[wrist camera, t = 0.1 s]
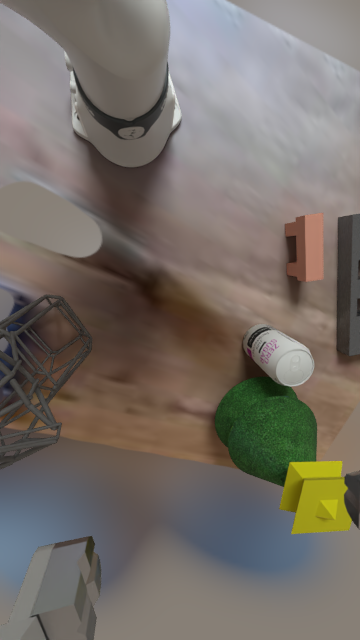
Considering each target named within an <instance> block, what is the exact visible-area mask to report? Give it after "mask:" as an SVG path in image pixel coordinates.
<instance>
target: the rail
mask: <svg viewBox="0 0 360 640" xmlns="http://www.w3.org/2000/svg"><path fill="white" fill-rule="evenodd" d="M358 260H360V214H355V215H349V216H343V217H338V290H337V350H338V351H340V352H342V353H344V354H346V355H348V356H353V355H358V354H360V310H357V299H358V298H360V275H359V276H358Z"/></svg>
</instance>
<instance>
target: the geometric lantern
mask: <svg viewBox="0 0 360 640" xmlns="http://www.w3.org/2000/svg"><path fill="white" fill-rule="evenodd" d="M49 298H55V299H58V300H57V301H56V302H54V303H53V304H52V303H51V302H50V300H49ZM44 299H47V301H48V302H49V304H50V306H49V307H47V308H46V309H45V310H43V311H42V312H40V313H39V314H38V315H36V316H35V317H34V318H32V319H31V320H29V321H28V323H26V324H25V325H24V324H21V323H17V322H14V321H16V320H17V319H18V318H20V317H21V316H22V315H24V314H25V313H27V312H28V311H29V310H31V309H32V308H33V307H35V306H36V305H38V304H39V303H40V302H42V301H43V300H44ZM61 301H62V302H63V303H64V305H65V306H66V307H67V308H66V307H65V306H64V305H63V304H62V303H61ZM60 305H61V306H62V307H63V308H64V309H65V310H66V311H67V312H68V314H69V315H70V316H71V317H72V318H73V319H74V321H75V322H76V323H77V324H78V325H79V326H80V327H81V330H80V331H79V329H78V328H77V327H76V326H75V325H74V324H73V323H72V322H71V320H70V319H69V318H68V317H67V316H66V315H65V314H64V313H63V311H62V310H61V309H60V308H59V306H60ZM53 307H56V308H57V309H58V310H59V311H60V312H61V313H62V314H63V316H64V317H65V318H66V319H67V320H68V321H69V322H70V323H71V325H72V326H73V327H74V328H75V329H76V330H77V331H78V332H79V336H78V337H77V338H75V339H74V340H72V341H71V342H70V343H68V344H67V345H65V346H64V347H63V348H61V349H60V350H58V351H52V350H51V349H50V348H49V347H48V346H47V345H46V344H45V343H44V342H43V341H42V340H41V338H40V337H39V336H38V335H37V334H36V333H35V332H34V331H33V330H32V329H31V327H30V326H31V325H32V324H33V323H34V322H36V321H37V320H38V319H39V318H41V317H42V316H43V315H44V314H46V313H47V312H48V311H50V310H51V309H52V308H53ZM67 309H68V310H69V311H70V312H69V311H68V310H67ZM11 323H13V324H17V325H20V326H22V327H21V328H20V329H19V330H17V331H14V332H13V331H10V332H8V331H6V327H7V326H9V325H10V324H11ZM27 328H28V329H27ZM28 330H30V331H31V332H32V333H33V334H34V335H35V336H36V337H37V338H38V339H39V340H40V341H41V342H42V343H43V345H44V346H45V347H46V348H47V349H48V350H49V351H50V352H51V353H48V352H47V351H46V350H45V349H44V348H43V347H42V346H41V345H40V344H39V343H38V342H37V341H36V340H35V339H34V338H33V337H32V336H31V335H30V334H29V333H28V332H27V331H28ZM23 331H24V332H25V333H26V334H27V335H28V336H29V337H30V338H31V339H32V340H33V341H34V342H35V343H36V344H37V345H38V346H39V347H40V348H41V349H42V350H43V351H44V352H45V353H46V354H47V355H48V356H47V357H46V359H45V360H44V361H43V362H42V363H40V362H39V361H38V360H37V359H36V357H35V356H34V355H33V354H32V353H31V351H30V350H29V349H28V348H27V347H26V346H25V344H24V343H23V342H22V341H21V340H20V338H19V337H18V335H19V334H20V333H22V332H23ZM81 331H82V333H81ZM84 332H85V334H84ZM82 335H84V336H86V337H88V338H89V339H88V340H87V341H86V342H85V341H84V340H83V338H82V337H81V336H82ZM3 337H5V339H6V340H7V341H8V342H9V343H10V344H11V347H12V353H13V359H12V358H11V357H9V356H8V355H6V354H5V353H3V352H2V351H0V358H2V359H3V360H5V361H6V362H8V363H10V364H11V365H13V366H14V368H13V370H12V371H10V370H9V369H8V368H7V367H6V366H5V365H4V364H3V363H2V362H1V361H0V370H1V371H2V372H3V373H4V374H5V375H6V376H5V377H4V378H2V379H1V380H0V388H1V387H2V386H3V385H4V384H5V383H7V382H8V381H9V380H10V379H11V378H13V377H14V375H15V373H16V371H17V370H19V371H20V372H21V373H22V374H23V375H24V376H25V377H26V378H27V379H26V380H25V381H24V382H23V383H22V384H21V385H19V384H18V382H17V381H16V380H15V379H11V380H10V384H11V385H12V387H13V388H14V389H15V391H14V392H13V393H12V394H11V395H10V396H9V397H8V398H6V399H5V400H4V401H3V402H2V403H1V404H0V417H1V416H3V415H5V414H7V413H8V412H10V411H11V412H10V413H9V414H8V415H7V416H6V417H5V418H4V419H3V420H2V421H1V422H0V429H1V428H3V427H4V426H6V425H8V424H9V423H11V422H13V421H15V420H16V419H18V418H20V417H21V416H23V415H25V414H26V413H28V412H30V411H31V412H32V413H33V414H35V415H36V417H35V418H34V420H33V422H32V423H31V425H30V426H29V428H28V429H27V430H26V431H22V432H17V433H13V434H9V435H4V436H2V434H1V432H0V440H1V444H2V446H0V462H3V463H1V464H0V469H2V468H5V467H7V466H10V465H12V464H13V463H14V462H16V461H18V460H21V459H22V458H25V457H27V456H29V455H31V454H33V453H35V452H37V451H39V450H41V449H43V448H45V447H47V446H49V445H52V444H55V443H57V439H59V435H60V430H61V425H62V423H61V422H60V423H56V421H55V419H54V417H53V415H52V413H51V410H50V408H49V406H48V403H49V402H50V400H51V399H52V398H53V397H54V396H55V395H56V393H57V392H58V391H59V390H60V389H61V387H62V386H63V385H64V384H65V382H66V381H67V380H68V379H69V378H70V376H71V375H72V374H73V373H74V371H75V370H76V369H77V368H78V367H79V365H80V364H81V363H82V362H83V361H84V359H85V358H86V357H87V356H88V354H89V353H90V352H91V349H92V337H91V335H90V334H89V333H88V331H87V330H86V328H85V327H84V326H83V324H82V323H81V322H80V320H79V319H78V317H77V316H76V315H75V313H74V312H73V310H72V309H71V308H70V306H69V305H68V303H67V302H66V301H65V299H64V298H63V297H61V296H55V295H44V296H43V297H41V298H39V299H38V300H36V301H34V302H33V303H31V304H29V305H28V306H26V307H24V308H22V309H21V310H19V311H17V312H16V313H14V314H12V315H11V316H9V317H7V318H6V319H4V320H2V321H1V322H0V339H1V338H3ZM9 337H10V338H9ZM79 338H80V339H81V340H82V342H83V343H84V346H83V347H82V348H81V350H80V351H79V352H78V354H77V355H76V356H75V358H74V359H72V360H70V361H69V362H67V363H65V364H63V365H62V366H60V367H58V368H57V369H55V370H53V371H52V368H53V363H54V357H55V356H56V355H58V354H59V353H60V352H62V351H63V350H64V349H66V348H67V347H69V346H70V345H71V344H73V343H74V342H75V341H77V340H78V339H79ZM15 339H16V340H17V341H18V342H19V344H20V345H21V346H22V347H23V348H24V350H25V351H26V352H27V353H28V354H29V356H30V357H31V358H32V359H33V360H34V361H35V363H36V364H37V365H38V366H39V367H38V368H37V370H36V369H35V368H34V366H33V365H32V364H31V363H30V362H29V361H28V359H27V358H26V357H25V356H24V355H23V354H22V352H21V351H20V350H19V349H18V348H17V346H16V341H15ZM88 344H89V347H88ZM86 347H87V349H88V350H87V351H86V352H84V353H82V352H83V351H84V350H85V348H86ZM52 353H56V354H55V355H51V354H52ZM18 354H19V355H20V356H21V357H22V358H23V360H24V361H25V362H26V363H27V364H28V365H29V366H30V368H31V369H32V370H33V371H34V372H33V373H32V374H30V373H29V372H28V371H27V370H26V369H25V368H24V367H23V366H22V365H21V363H22V360H19V358H18ZM50 356H51V357H52V362H51V368H50V373H49V372H47V371H46V369H45V368H44V367H43V366H42V365H43V364H44V363H45V362H46V360H47V359H48V358H49V357H50ZM81 357H82V358H81ZM79 358H81V359H80V361H79V362H78V363H77V364H76V365H75V366H74V368H73V369H72V370H71V371H70V369H71V368H72V367H73V365H74V364H75V362H76V361H77V359H79ZM69 364H70V365H69ZM67 365H69V366H68V367H67V369H66V370H65V371H64V373H63V374H62V375H61V377H60V378H59V379H58V381H57V382H56V381H55V380H54V379H53V378H52V377H51V375H52V374H53V373H55V372H57V371H59V370H60V369H62V368H64V367H65V366H67ZM39 369H41V370H42V371H43V372H42V371H38V370H39ZM69 371H70V372H69ZM68 372H69V373H68ZM36 373H37V374H43V375H46V377H45V378H44V379H43V380H42V381H41V382H40V383H39V384H38V382H39V379H38V378H37V379H35V378H34V377H33V376H34V375H35V374H36ZM67 374H68V375H67ZM66 375H67V376H66ZM48 378H49V379H50V381H51V382H52V383H53V384H54V386H53V388H49V387H45V386H41V385H42V384H43V383H44V382H45V381H46V380H47V379H48ZM28 381H30V382H31V383H32V388H31V390H30V392H29V394H28V395H26V394H25V392H24V391H23V390H22V387H23V386H24V385H25V384H26V383H27V382H28ZM40 388H41V389H46V390H50V391H51V392H50V394H49V396H48V398H46V399H45V398H44V396H43V394H42V392H41V390H40ZM34 392H35V393H36V395H37V397H38V399H39V401H40V402H39V403H38V404H36V405H33V404H32V403H31V401H30V400H31V399H32V398H33V396H32V395H33V393H34ZM16 393H17V394H18V395H19V397H20V398H21V399H20V400H19V401H17V402H15V403H13V404H11V405H10V406H8V407H6V408H4V409H2V408H3V407H4V406H5V405H6V404H7V403H8V402H9V401H10V400H11V398H12V397H13V396H14V395H15V394H16ZM23 404H25V406H26V407H27V408H28V410H26V411H24V412H23V413H21V414H19V415H18V416H16V417H14V418H13V419H11V420H9V419H10V418H11V417H12V416H13V414H14V413H15V412H16V411H17V410H18V409H19V408H20V407H21V406H22V405H23ZM40 405H42V407H41V409H40V410H38V409H37V408H36V407H38V406H40ZM1 409H2V410H1ZM43 411H44V412H45V414H46V416H47V417H46V416H45V415H44V414H43ZM39 419H40V420H41V421H43V422H44V423H45V424H46V425H47V426H43V427H39V428H34V426H35V424H36V423H37V421H38V420H39ZM8 420H9V421H8ZM33 428H34V429H33ZM48 428H50V429H52V430H56V429H58V430H57V435H56V436H55V437H50V438H27V437H28V436H29V434H30V433H31V432H35V431H40V430H44V429H48ZM23 434H24V436H23V437H22V439H20V440H18V441H16V442H14V443H12V444H10V445H5V443H4V440H3V439H6V438H10V437H15V436H19V435H23ZM31 447H33V448H32V449H29V450H27V451H25V452H23V453H21V454H19V453H20V451H21V449H26V448H31ZM14 450H17V452H16V453H15V455H14V456H4V455H5V453H6V452H9V451H14Z"/></svg>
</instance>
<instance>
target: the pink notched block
mask: <svg viewBox="0 0 360 640" xmlns="http://www.w3.org/2000/svg"><path fill="white" fill-rule="evenodd" d="M285 233H286V237H287V236H295V235H296V246H297V262H292V263H287V275H290V276H297V280H298V281H304V282H308V281H314V280H320V279H323V213H318V214H311V215H305V216H300V217H296V222H292V223H288V224H285Z"/></svg>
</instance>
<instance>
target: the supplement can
mask: <svg viewBox="0 0 360 640" xmlns="http://www.w3.org/2000/svg"><path fill="white" fill-rule="evenodd" d="M243 348H244V350H245V352H246V354H247V355H248V356H249V357H250V358H251V359H252V360H254V361H255V362H256V363H257V364H258V365H259V366H260V367H261V368H262V369H263V370H264V371H265V372H266V373H267V374H268V375H269V376H270V377H271V378H272V379H273V380H274V381H275V382H277V383H278V384H281V385H284V386H290V387H291V386H298V385H300V384H303V383H304V382H305V381H307V380H308V379H309V377H310V376H311V374H312V372H313V369H314V360H313V358H312V355H311V353H310V351H309V349H308V348H306V347H305V346H304V345H303V344H301V343H299V342H298V341H296V340H294V339H292V338H291V337H289V336H287V335H285V334H284V333H282V332H280V331H279V330H277V329H275V328H273V327H272V326H269V325H266V324H258V325H255V326H253V327H252V328H250V329H249V330H248V331H247V333H246V334H245V336H244V340H243Z"/></svg>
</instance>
